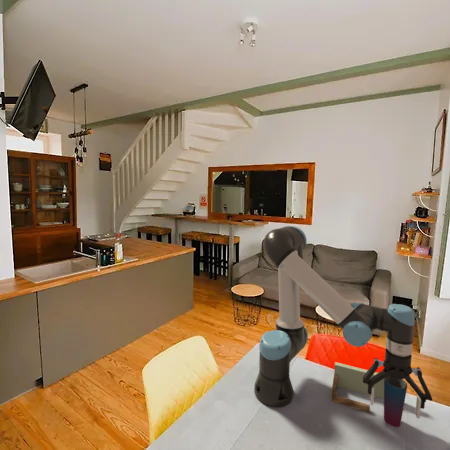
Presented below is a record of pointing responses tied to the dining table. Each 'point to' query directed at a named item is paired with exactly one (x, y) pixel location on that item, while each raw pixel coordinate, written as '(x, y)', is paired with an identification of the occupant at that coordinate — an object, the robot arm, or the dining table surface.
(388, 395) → the cup
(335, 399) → the bracket
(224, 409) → the dining table surface
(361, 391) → the wall board
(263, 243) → the robot arm
